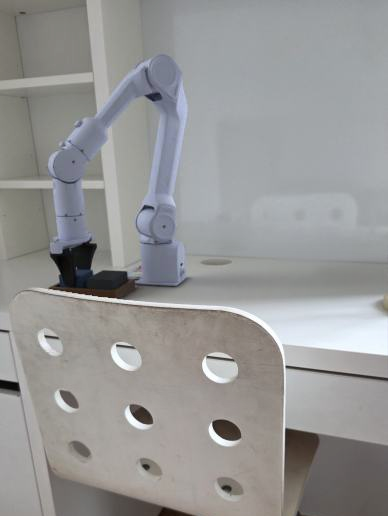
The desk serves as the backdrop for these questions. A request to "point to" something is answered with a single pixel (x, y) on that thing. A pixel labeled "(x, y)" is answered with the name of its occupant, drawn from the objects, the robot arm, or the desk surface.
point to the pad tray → (101, 290)
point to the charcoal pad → (107, 280)
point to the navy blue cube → (78, 279)
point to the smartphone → (135, 273)
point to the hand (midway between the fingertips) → (77, 282)
